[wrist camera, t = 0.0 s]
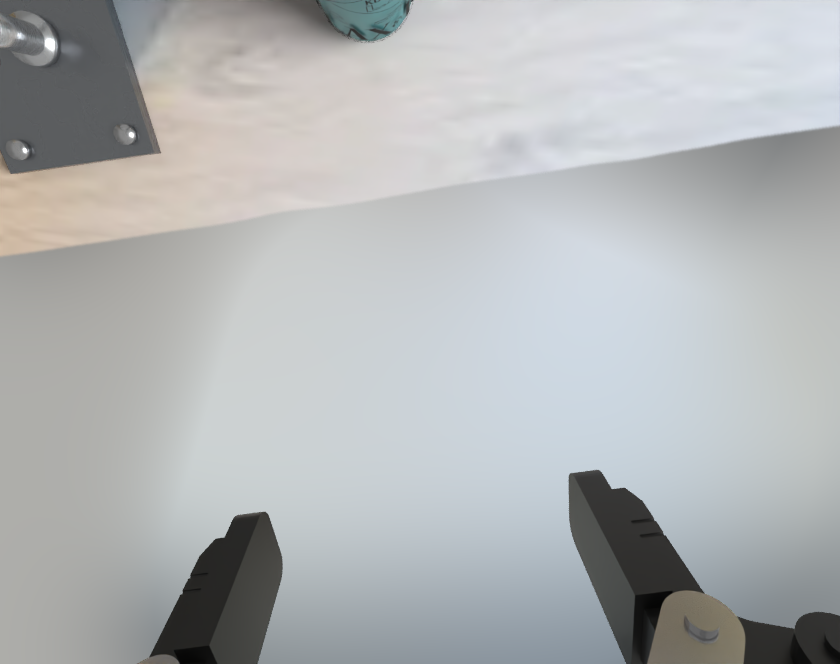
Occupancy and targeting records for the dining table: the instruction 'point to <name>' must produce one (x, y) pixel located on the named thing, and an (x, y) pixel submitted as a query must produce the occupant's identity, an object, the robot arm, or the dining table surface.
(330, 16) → the beverage bottle
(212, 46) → the dining table surface
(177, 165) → the dining table surface
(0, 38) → the toggle switch
